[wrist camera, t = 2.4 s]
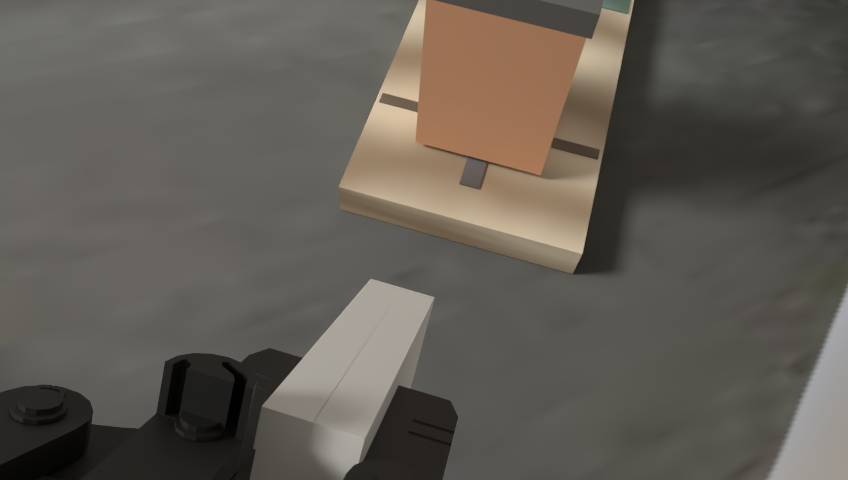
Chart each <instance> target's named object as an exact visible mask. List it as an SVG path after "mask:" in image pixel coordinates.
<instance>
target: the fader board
mask: <svg viewBox="0 0 848 480" xmlns="http://www.w3.org/2000/svg"><path fill="white" fill-rule="evenodd" d="M633 4H634V0H604V1H603V5H602V9H601V13H600V17H599V20H598V23H597V25H596V28H595V31H594V34H593V37H592V39H589V38H586V41H585V44H584V47H583V50H582V53H581V56H580V59H579V62H578V65H577V68H576V71H575V74H574V77H573V80H572V83H571V86H570V89H569V92H568V95H567V98H566V101H565V104H564V107H563V110H562V113H561V116H560V119H559V122H558V125H557V128H556V131H555V134H554V137H553V140H552V143H551V146H550V149H549V152H548V155H547V158H546V161H545V164H544V167H543V170H542V173H541V175H537V174H534V173H530V172H526V171H522V170H519V169H515V168H511V167H507V166H504V165H500V164H496V163H492V162H489V161H485V160H481V159H477V158H474V157H470V156H466V155H462V154H459V153H455V152H451V151H447V150H444V149H440V148H436V147H432V146H429V145H425V144H421V143H417V142H415V140H416V127H417V114H418V101H419V88H420V74H421V61H422V48H423V35H424V22H425V9H426V0H419V2H418V4H417V6H416V8H415V11H414V13H413V15H412V18H411V20H410V22H409V25H408V27H407V29H406V32H405V34H404V36H403V39H402V41H401V43H400V46H399V48H398V50H397V53H396V55H395V57H394V60H393V62H392V64H391V66H390V69H389V71H388V73H387V76H386V78H385V80H384V83H383V85H382V87H381V90H380V92H379V94H378V97H377V99H376V101H375V104H374V106H373V108H372V111H371V113H370V115H369V117H368V120H367V122H366V124H365V127H364V129H363V131H362V134H361V136H360V138H359V141H358V143H357V145H356V148H355V150H354V152H353V155H352V157H351V159H350V162H349V164H348V166H347V168H346V171H345V173H344V175H343V178H342V180H341V182H340V185H339V199H340V209H341V210H344V211H348V212H351V213H355V214H358V215H362V216H366V217H369V218H373V219H376V220H380V221H384V222H387V223H391V224H394V225H398V226H402V227H405V228H409V229H412V230H416V231H419V232H423V233H427V234H430V235H434V236H437V237H441V238H445V239H448V240H452V241H455V242H459V243H463V244H466V245H470V246H473V247H477V248H480V249H484V250H488V251H491V252H495V253H498V254H502V255H506V256H509V257H513V258H516V259H520V260H523V261H527V262H531V263H534V264H538V265H541V266H545V267H549V268H552V269H556V270H559V271H563V272H567V273H570V274H573V272H574V270H575V268H576V266H577V264H578V262H579V260H580V258H581V256H582V254H583V249H584V244H585V239H586V235H587V230H588V225H589V220H590V215H591V210H592V205H593V200H594V195H595V190H596V185H597V180H598V176H599V171H600V166H601V161H602V156H603V151H604V146H605V141H606V136H607V131H608V126H609V121H610V117H611V112H612V107H613V102H614V97H615V92H616V87H617V82H618V77H619V72H620V67H621V62H622V58H623V53H624V48H625V43H626V38H627V33H628V28H629V23H630V18H631V13H632V8H633Z"/></svg>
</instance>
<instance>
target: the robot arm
mask: <svg viewBox="0 0 848 480" xmlns="http://www.w3.org/2000/svg"><path fill="white" fill-rule="evenodd" d="M434 298H435V297H432V296H428V295H425V294H421V293H418V292H414V291H411V290H408V289H404V288H401V287H397V286H394V285H390V284H387V283H383V282H380V281H376V280H373V279H370V280H369V282H368V283H367V284H366V285H365V286H364V287H363V289H362V290H361V291H360V292H359V293H358V294H357V296H356V297H355V298H354V299H353V300H352V301H351V303H350V304H349V305H348V306H347V307H346V308H345V310H344V311H343V312H342V313H341V314H340V315H339V317H338V318H337V319H336V320H335V321H334V322H333V324H332V325H331V326H330V327H329V328H328V329H327V331H326V332H325V333H324V334H323V335H322V336H321V338H320V339H319V340H318V341H317V342H316V343H315V345H314V346H313V347H312V348H311V349H310V350H309V352H308V353H307V354H306V355H305V356H304V357H303V358H301V357H297V356H294V355H291V354H287V353H284V352H281V351H278V350H274V349H271V348H269V349H266V350H263V351H260V352H257V353H254V354H251V355H249V356H248V357H246V358H245V359H244V360H243V361H242V362H238V361H236V360H234V359H231V358H229V357H224V356H219V355H215V354H200V353H192V354H186V355H180V356H176V357H174V358H172V359H170V360H168V361H165V366H164V372H163V378H162V384H161V390H160V396H159V402H158V408H157V413H156V414H155V415H154V416H153V417H152V418H151V419H150V420H148V421H147V422H146V423H145V424H144V425H143V426H142V427H140V428H139V429H136V428H120V427H111V426H102V425H94V424H91V422H92V415H93V409H92V406H91V403H90V401H89V400H88V399H86V398H85V397H84V396H83V395H81V394H80V393H78V392H75V391H72V390H69V389H66V388H63V387H59V386H52V385H38V386H23V387H19V388H15V389H11V390H7V391H4V392H1V393H0V480H442V478H443V474H444V471H445V467H446V463H447V459H448V455H449V451H450V446H451V443H452V439H453V434H454V431H455V427H456V423H457V419H458V416H457V414H456V412H455V410H454V407H453V405H452V403H451V401H449V400H446V399H443V398H439V397H436V396H433V395H429V394H426V393H423V392H420V391H416V390H413V389H411V385H412V381H413V377H414V373H415V370H416V366H417V362H418V358H419V355H420V351H421V347H422V343H423V339H424V336H425V332H426V328H427V324H428V321H429V317H430V313H431V309H432V306H433V302H434Z"/></svg>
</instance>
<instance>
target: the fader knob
mask: <svg viewBox="0 0 848 480" xmlns="http://www.w3.org/2000/svg"><path fill="white" fill-rule="evenodd" d="M603 1H604V0H426V9H425V22H424V35H423V48H422V61H421V74H420V88H419V101H418V114H417V127H416V140H415V142H417V143H421V144H425V145H429V146H432V147H436V148H440V149H444V150H447V151H451V152H455V153H459V154H462V155H466V156H470V157H474V158H477V159H481V160H485V161H489V162H492V163H496V164H500V165H504V166H507V167H511V168H515V169H519V170H522V171H526V172H530V173H534V174H537V175H541V173H542V170H543V167H544V164H545V161H546V158H547V155H548V152H549V149H550V146H551V143H552V140H553V137H554V134H555V131H556V128H557V125H558V122H559V119H560V116H561V113H562V110H563V107H564V104H565V101H566V98H567V95H568V92H569V89H570V86H571V83H572V80H573V77H574V74H575V71H576V68H577V65H578V62H579V59H580V56H581V53H582V50H583V47H584V44H585V41H586V38H589V39H592V37H593V34H594V31H595V28H596V25H597V23H598V20H599V17H600V13H601V9H602V5H603Z"/></svg>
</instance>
